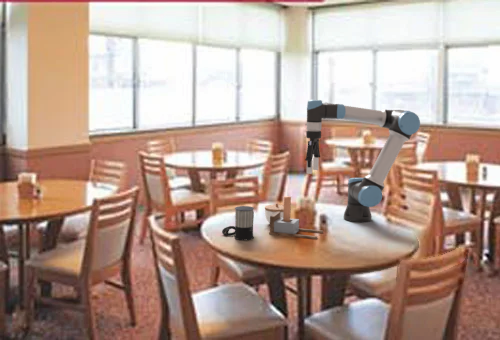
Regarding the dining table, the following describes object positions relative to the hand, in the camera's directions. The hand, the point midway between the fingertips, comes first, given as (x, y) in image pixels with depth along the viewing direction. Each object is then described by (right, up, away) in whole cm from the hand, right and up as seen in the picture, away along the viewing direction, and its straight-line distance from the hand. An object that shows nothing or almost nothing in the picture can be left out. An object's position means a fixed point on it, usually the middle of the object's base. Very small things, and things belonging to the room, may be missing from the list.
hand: (312, 171), depth 313 cm
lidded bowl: (-18, -28, +8) cm, 34 cm away
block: (-14, -30, -10) cm, 35 cm away
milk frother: (-38, -32, -19) cm, 53 cm away
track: (-9, -31, -11) cm, 34 cm away
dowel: (-14, -28, -10) cm, 33 cm away
